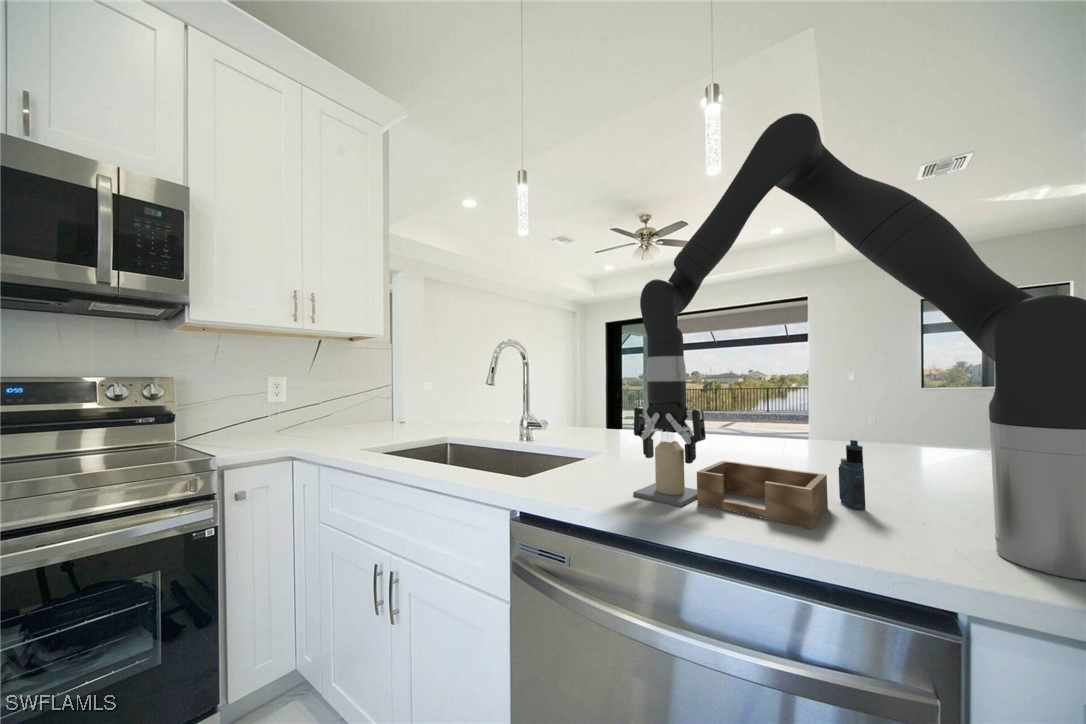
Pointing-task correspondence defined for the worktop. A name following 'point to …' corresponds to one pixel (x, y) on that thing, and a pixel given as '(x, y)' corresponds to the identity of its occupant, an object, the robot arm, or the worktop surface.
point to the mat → (677, 500)
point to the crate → (765, 491)
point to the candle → (669, 468)
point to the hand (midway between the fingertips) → (668, 460)
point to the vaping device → (852, 477)
